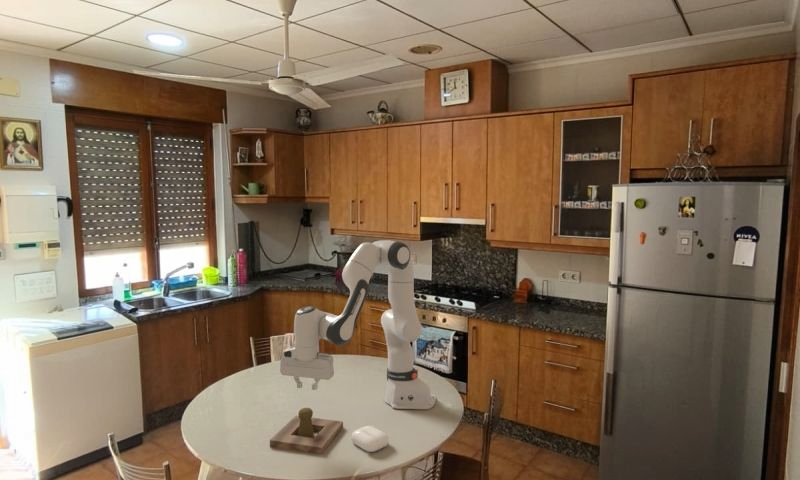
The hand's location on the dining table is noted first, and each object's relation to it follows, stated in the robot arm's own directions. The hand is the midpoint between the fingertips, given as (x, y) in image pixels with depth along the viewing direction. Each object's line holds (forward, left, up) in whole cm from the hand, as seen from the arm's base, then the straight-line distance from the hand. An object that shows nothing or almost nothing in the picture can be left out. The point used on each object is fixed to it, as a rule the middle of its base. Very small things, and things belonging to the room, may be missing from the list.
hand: (307, 388), depth 175 cm
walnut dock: (0, 0, -19) cm, 19 cm away
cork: (+1, 0, -19) cm, 19 cm away
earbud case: (-24, -1, -20) cm, 31 cm away
